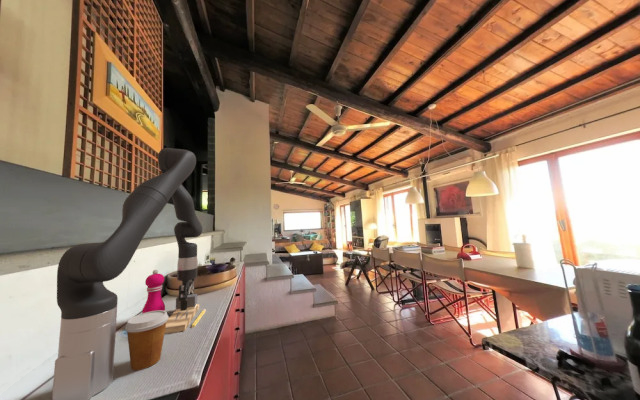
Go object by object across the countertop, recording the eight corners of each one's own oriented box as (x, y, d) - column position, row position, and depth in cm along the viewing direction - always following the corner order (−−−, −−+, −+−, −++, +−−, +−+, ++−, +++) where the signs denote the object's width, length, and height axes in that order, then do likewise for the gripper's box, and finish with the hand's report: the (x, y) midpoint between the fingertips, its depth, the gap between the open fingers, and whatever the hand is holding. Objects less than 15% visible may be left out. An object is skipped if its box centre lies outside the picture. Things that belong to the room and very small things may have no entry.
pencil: (194, 327, 80) (194, 324, 80) (191, 327, 80) (191, 325, 80) (205, 311, 95) (205, 308, 95) (203, 311, 95) (203, 309, 95)
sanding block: (194, 308, 92) (194, 296, 93) (175, 311, 90) (176, 298, 91) (196, 305, 96) (197, 293, 97) (178, 307, 94) (179, 295, 95)
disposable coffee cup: (144, 376, 54) (146, 325, 55) (112, 373, 56) (115, 323, 57) (175, 353, 63) (176, 310, 65) (147, 351, 65) (149, 309, 66)
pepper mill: (169, 318, 88) (170, 267, 91) (154, 326, 81) (156, 271, 83) (152, 318, 89) (154, 268, 91) (136, 326, 82) (138, 272, 84)
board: (185, 330, 77) (185, 324, 77) (158, 335, 75) (158, 328, 75) (199, 308, 98) (199, 303, 98) (178, 311, 96) (178, 306, 96)
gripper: (193, 269, 89) (192, 311, 88) (200, 264, 103) (200, 299, 101) (172, 271, 87) (170, 314, 85) (182, 265, 101) (181, 302, 99)
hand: (186, 306), depth 93 cm, fingers open, 8 cm apart
